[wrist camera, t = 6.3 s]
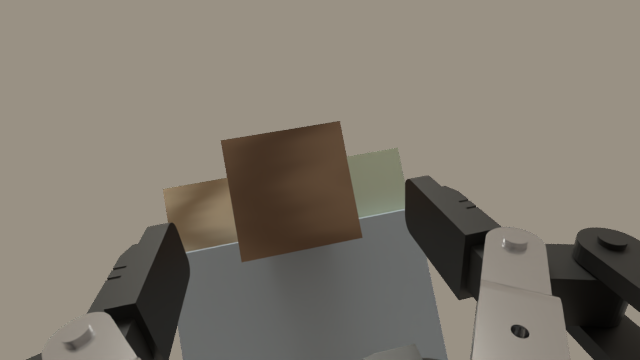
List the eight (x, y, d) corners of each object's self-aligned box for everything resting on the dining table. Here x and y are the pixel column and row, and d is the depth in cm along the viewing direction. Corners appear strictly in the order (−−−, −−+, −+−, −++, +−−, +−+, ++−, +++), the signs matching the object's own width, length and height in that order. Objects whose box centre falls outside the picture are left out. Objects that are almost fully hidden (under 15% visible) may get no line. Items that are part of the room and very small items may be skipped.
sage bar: (350, 219, 21) (338, 158, 21) (329, 216, 32) (321, 175, 32) (410, 207, 22) (397, 147, 22) (369, 208, 32) (361, 168, 33)
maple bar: (173, 254, 20) (162, 189, 20) (214, 238, 31) (207, 196, 31) (240, 241, 20) (229, 177, 21) (257, 230, 31) (249, 188, 32)
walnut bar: (241, 262, 11) (220, 140, 11) (273, 226, 32) (266, 186, 33) (362, 237, 11) (339, 120, 11) (313, 218, 33) (305, 178, 33)
